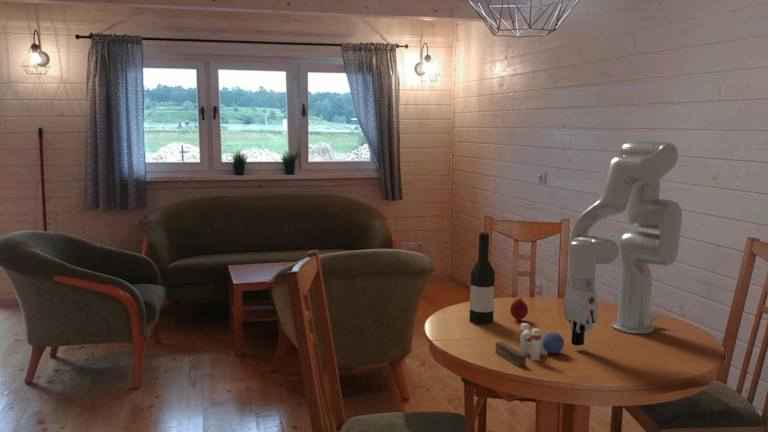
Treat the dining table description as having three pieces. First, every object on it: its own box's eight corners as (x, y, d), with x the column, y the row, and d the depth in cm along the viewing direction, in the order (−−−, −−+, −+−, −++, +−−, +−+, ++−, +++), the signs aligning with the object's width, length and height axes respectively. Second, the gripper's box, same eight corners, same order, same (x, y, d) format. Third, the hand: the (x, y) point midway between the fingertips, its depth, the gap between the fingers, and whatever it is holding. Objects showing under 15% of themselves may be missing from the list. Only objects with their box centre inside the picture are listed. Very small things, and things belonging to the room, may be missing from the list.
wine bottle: (474, 325, 211) (477, 234, 207) (465, 318, 219) (467, 230, 215) (498, 323, 213) (501, 233, 209) (488, 316, 221) (491, 229, 217)
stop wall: (501, 351, 186) (501, 341, 186) (525, 366, 175) (526, 355, 175) (495, 352, 186) (495, 342, 185) (519, 367, 175) (519, 356, 174)
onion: (527, 323, 213) (528, 300, 212) (509, 322, 214) (510, 299, 213) (527, 318, 219) (528, 295, 218) (510, 317, 220) (510, 294, 219)
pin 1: (525, 351, 187) (526, 322, 186) (530, 354, 184) (531, 325, 183) (518, 352, 186) (518, 323, 185) (523, 355, 184) (523, 326, 182)
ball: (535, 337, 186) (542, 353, 188) (547, 344, 181) (555, 360, 183) (550, 325, 188) (557, 341, 190) (563, 332, 182) (571, 348, 184)
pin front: (542, 347, 186) (525, 328, 183) (547, 349, 183) (530, 330, 180) (536, 353, 185) (519, 335, 182) (541, 356, 183) (525, 337, 180)
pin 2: (536, 357, 182) (537, 328, 181) (541, 360, 180) (542, 330, 179) (528, 358, 181) (529, 329, 180) (533, 361, 179) (535, 331, 178)
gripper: (609, 287, 181) (605, 351, 183) (574, 276, 195) (571, 335, 197) (587, 290, 178) (584, 354, 181) (554, 278, 192) (551, 338, 194)
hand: (577, 344), depth 189 cm, fingers closed
